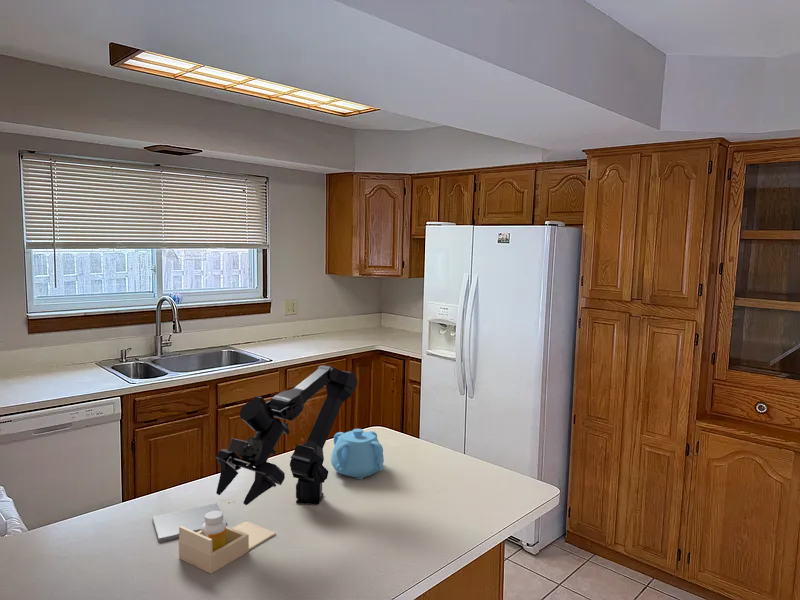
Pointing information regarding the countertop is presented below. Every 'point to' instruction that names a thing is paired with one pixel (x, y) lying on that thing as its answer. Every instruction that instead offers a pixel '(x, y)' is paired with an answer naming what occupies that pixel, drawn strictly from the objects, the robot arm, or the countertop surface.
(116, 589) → the countertop surface
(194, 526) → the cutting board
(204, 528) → the supplement bottle
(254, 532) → the carton
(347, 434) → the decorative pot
